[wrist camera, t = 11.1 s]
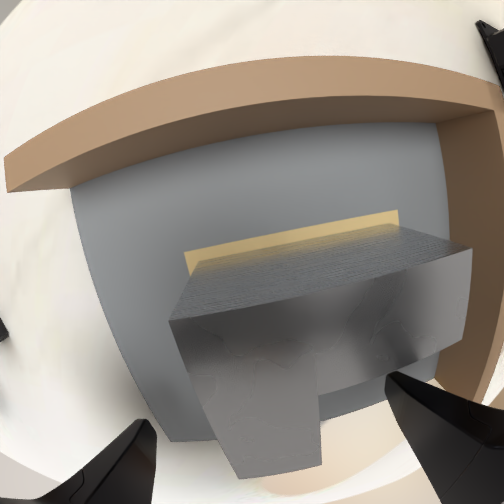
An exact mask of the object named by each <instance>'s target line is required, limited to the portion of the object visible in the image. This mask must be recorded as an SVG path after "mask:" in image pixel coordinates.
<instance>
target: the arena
mask: <svg viewBox="0 0 504 504" xmlns="http://www.w3.org/2000/svg"><path fill="white" fill-rule="evenodd" d="M4 167H5V179H6V188H7V193H11V192H22V191H34V190H48V189H66V188H70V192H71V198H72V203H73V208H74V213H75V218H76V222H77V226H78V231H79V235H80V239H81V243H82V246H83V250H84V254H85V257H86V261H87V264H88V267H89V271H90V274H91V277H92V280H93V283H94V286H95V289H96V292H97V295H98V298H99V300H100V303H101V306H102V309H103V311H104V314H105V316H106V319H107V321H108V324H109V326H110V329H111V331H112V334H113V336H114V338H115V341H116V343H117V345H118V347H119V350H120V352H121V354H122V356H123V358H124V360H125V362H126V364H127V366H128V369H129V371H130V373H131V375H132V376H133V378H134V380H135V382H136V384H137V386H138V388H139V390H140V392H141V394H142V395H143V397H144V399H145V401H146V402H147V404H148V406H149V408H150V409H151V411H152V413H153V414H154V416H155V418H156V419H157V421H158V423H159V424H160V426H161V427H162V429H163V431H164V432H165V434H166V435H167V437H168V438H169V440H170V441H171V442H187V441H207V440H218V439H217V437H216V435H215V433H214V431H213V429H212V427H211V425H210V423H209V421H208V419H207V417H206V414H205V412H204V410H203V408H202V406H201V403H200V401H199V399H198V397H197V394H196V392H195V390H194V387H193V385H192V382H191V380H190V378H189V375H188V373H187V370H186V368H185V365H184V363H183V360H182V358H181V355H180V352H179V350H178V347H177V344H176V342H175V339H174V336H173V333H172V330H171V328H170V325H169V322H168V320H169V318H170V316H171V314H172V312H173V310H174V308H175V306H176V304H177V302H178V300H179V298H180V296H181V294H182V292H183V290H184V288H185V286H186V284H187V282H188V280H189V278H190V276H191V274H192V272H193V270H194V269H195V267H196V265H197V263H198V261H202V260H207V259H212V258H217V257H222V256H227V255H232V254H237V253H241V252H246V251H251V250H256V249H261V248H266V247H271V246H276V245H281V244H286V243H291V242H296V241H301V240H306V239H311V238H316V237H321V236H326V235H331V234H336V233H341V232H347V231H352V230H357V229H362V228H367V227H372V226H377V225H382V224H387V223H391V224H395V225H398V226H402V227H405V228H409V229H413V230H416V231H420V232H423V233H426V234H430V235H433V236H436V237H440V238H443V239H446V240H449V241H453V242H456V243H459V244H462V245H465V246H468V247H471V248H473V250H472V270H471V282H470V292H469V300H468V308H467V314H466V320H465V326H464V331H463V336H462V340H460V341H458V342H456V343H454V344H452V345H450V346H448V347H446V348H444V349H442V350H440V351H438V352H436V353H434V354H432V355H430V356H428V357H426V358H424V359H421V360H419V361H417V362H415V363H412V364H410V365H408V366H405V367H403V368H400V369H398V370H395V371H399V372H401V373H404V374H406V375H408V376H411V377H413V378H415V379H418V380H420V381H423V382H427V381H429V380H431V379H433V378H435V379H436V380H437V381H438V382H439V384H440V385H441V386H442V387H443V388H444V389H445V390H446V391H447V392H450V393H452V394H455V395H457V396H460V397H463V398H465V399H467V401H468V400H471V401H473V402H476V403H479V404H481V403H482V400H483V398H484V396H485V393H486V391H487V388H488V386H489V383H490V381H491V378H492V376H493V373H494V370H495V367H496V364H497V361H498V358H499V355H500V352H501V348H502V345H503V342H504V99H503V95H502V92H501V89H500V86H498V85H496V84H493V83H490V82H487V81H484V80H481V79H478V78H475V77H472V76H469V75H465V74H462V73H458V72H454V71H450V70H446V69H442V68H437V67H433V66H428V65H423V64H417V63H411V62H405V61H398V60H390V59H381V58H370V57H354V56H300V57H284V58H273V59H263V60H255V61H248V62H241V63H235V64H229V65H223V66H218V67H213V68H208V69H203V70H199V71H195V72H191V73H187V74H183V75H179V76H175V77H172V78H168V79H165V80H161V81H158V82H155V83H152V84H149V85H146V86H143V87H140V88H137V89H134V90H131V91H129V92H126V93H123V94H121V95H118V96H116V97H113V98H111V99H108V100H106V101H103V102H101V103H99V104H97V105H94V106H92V107H90V108H88V109H86V110H83V111H81V112H79V113H77V114H75V115H73V116H71V117H69V118H67V119H65V120H63V121H62V122H60V123H58V124H56V125H54V126H52V127H51V128H49V129H47V130H45V131H44V132H42V133H40V134H39V135H37V136H35V137H34V138H32V139H30V140H29V141H27V142H26V143H24V144H23V145H21V146H20V147H18V148H17V149H15V150H14V151H12V152H11V153H9V154H8V155H7V156H5V157H4ZM386 375H387V374H385V375H382V376H380V377H377V378H374V379H371V380H368V381H365V382H362V383H359V384H356V385H353V386H350V387H347V388H344V389H340V390H337V391H333V392H330V393H326V394H323V395H319V396H318V402H319V417H320V421H324V420H328V419H331V418H335V417H338V416H341V415H344V414H347V413H351V412H354V411H357V410H360V409H363V408H365V407H368V406H371V405H374V404H376V403H379V402H381V401H384V400H387V397H386V395H385V391H384V388H385V379H386Z"/></svg>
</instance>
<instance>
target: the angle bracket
mask: <svg viewBox="0 0 504 504" xmlns="http://www.w3.org/2000/svg"><path fill="white" fill-rule="evenodd" d="M472 250H473V248H471V247H468V246H465V245H462V244H459V243H456V242H453V241H449V240H446V239H443V238H440V237H436V236H433V235H430V234H426V233H423V232H420V231H416V230H413V229H409V228H405V227H402V226H398V225H395V224H391V223H387V224H382V225H377V226H372V227H367V228H362V229H357V230H352V231H347V232H341V233H336V234H331V235H326V236H321V237H316V238H311V239H306V240H301V241H296V242H291V243H286V244H281V245H276V246H271V247H266V248H261V249H256V250H251V251H246V252H241V253H237V254H232V255H227V256H222V257H217V258H212V259H207V260H202V261H198V263H197V265H196V267H195V269H194V270H193V272H192V274H191V276H190V278H189V280H188V282H187V284H186V286H185V288H184V290H183V292H182V294H181V296H180V298H179V300H178V302H177V304H176V306H175V308H174V310H173V312H172V314H171V316H170V318H169V320H168V322H169V325H170V328H171V330H172V333H173V336H174V339H175V342H176V344H177V347H178V350H179V352H180V355H181V358H182V360H183V363H184V365H185V368H186V370H187V373H188V375H189V378H190V380H191V382H192V385H193V387H194V390H195V392H196V394H197V397H198V399H199V401H200V403H201V406H202V408H203V410H204V412H205V414H206V417H207V419H208V421H209V423H210V425H211V427H212V429H213V431H214V433H215V435H216V437H217V439H218V441H219V443H220V445H221V447H222V449H223V451H224V453H225V455H226V457H227V459H228V460H229V462H230V464H231V466H232V468H233V470H234V471H235V473H236V475H237V477H238V478H239V479H247V478H256V477H264V476H270V475H276V474H282V473H287V472H293V471H298V470H302V469H307V468H311V467H315V466H319V465H322V458H321V435H320V417H319V402H318V396H319V395H323V394H326V393H330V392H333V391H337V390H340V389H344V388H347V387H350V386H353V385H356V384H359V383H362V382H365V381H368V380H371V379H374V378H377V377H380V376H382V375H385V374H388V373H390V372H393V371H395V370H398V369H400V368H403V367H405V366H408V365H410V364H412V363H415V362H417V361H419V360H421V359H424V358H426V357H428V356H430V355H432V354H434V353H436V352H438V351H440V350H442V349H444V348H446V347H448V346H450V345H452V344H454V343H456V342H458V341H460V340H462V336H463V331H464V326H465V320H466V314H467V308H468V300H469V292H470V282H471V270H472Z"/></svg>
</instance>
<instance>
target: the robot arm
mask: <svg viewBox="0 0 504 504" xmlns="http://www.w3.org/2000/svg"><path fill="white" fill-rule="evenodd" d="M476 23H477V25H478V27H479V29H480V31H481V33H482V35H483V37H484V40H485V42H486V44H487V46H488V48H489V51H490V53H491V55H492V58H493V60H494V63H495V65H496V68H497V71H498V74H499V76H500V79H501V82H502V85H503V88H504V29H502V30H497V29H495V28H494V27H492V26H490V25H489V24H487V23H485V22H483V21H481V20H479V21H477V22H476ZM384 391H385V395H386V397H387V400H388V402H389V404H390V407H391V409H392V411H393V413H394V416H395V418H396V421H397V423H398V425H399V427H400V429H401V431H402V432H403V434H404V436H405V437H406V439H407V441H408V443H409V444H410V446H411V448H412V450H413V451H414V453H415V455H416V457H417V459H418V460H419V462H420V464H421V466H422V468H423V469H424V471H425V473H426V475H427V476H428V479H429V480H430V482H431V484H432V486H433V488H434V490H435V492H436V494H437V495H438V497H439V499H440V501H441V503H442V504H504V410H501V409H496V408H492V407H489V406H485V405H482V404H479V403H476V402H473V401H471V400H468V401H467V399H465V398H463V397H460V396H457V395H455V394H452V393H450V392H447V391H445V390H442V389H440V388H437V387H435V386H432V385H430V384H427V383H425V382H423V381H420V380H418V379H415V378H413V377H411V376H408V375H406V374H404V373H401V372H399V371H393V372H390V373H388V374H387V375H386V379H385V388H384ZM156 448H157V434H156V431H155V430H154V428H153V427H152V425H151V424H150V422H149V421H148V420H147V419H136V420H135V421H134V422H133V423H132V424H131V425H130V426H129V427H128V428H127V429H125V430H124V431H123V432H122V433H121V434H120V435H119V436H118V437H117V438H116V439H115V440H113V441H112V442H111V443H110V444H109V445H108V446H107V447H106V448H105V449H103V450H102V451H101V452H100V453H99V454H98V455H97V456H95V457H94V458H93V459H92V460H91V461H90V462H89V463H87V464H86V465H85V466H84V467H83V469H80V470H79V471H78V472H77V473H76V474H74V475H73V476H72V477H71V478H69V479H68V480H67V481H65V482H64V483H62V484H61V485H60V486H58V487H57V488H55V489H53V490H52V491H50V492H49V493H47V494H46V495H44V496H42V497H40V498H37V499H31V500H25V499H10V498H1V497H0V504H151V500H152V493H153V485H154V478H155V471H156Z"/></svg>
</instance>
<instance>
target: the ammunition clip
mask: <svg viewBox="0 0 504 504" xmlns="http://www.w3.org/2000/svg"><path fill="white" fill-rule="evenodd" d="M7 337H8V331H7V329H6V327H5V325H4V324H3V322H2V320H1V318H0V342H1V341H2V340H4V339H5V338H7Z"/></svg>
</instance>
